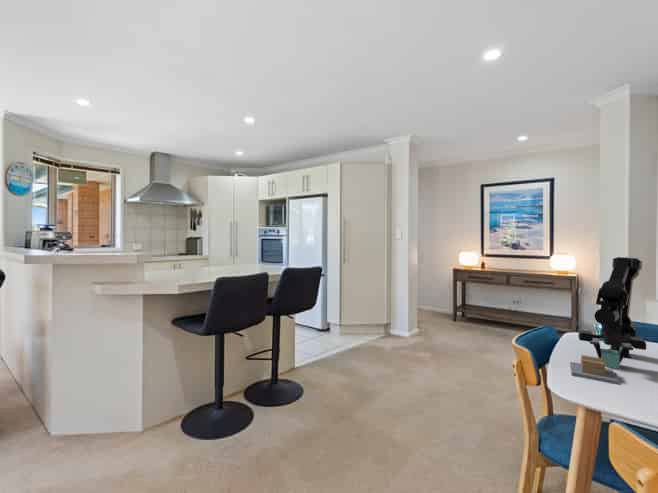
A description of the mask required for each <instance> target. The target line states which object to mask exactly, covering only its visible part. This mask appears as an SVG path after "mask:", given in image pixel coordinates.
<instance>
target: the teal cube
mask: <svg viewBox="0 0 658 493" xmlns="http://www.w3.org/2000/svg"><path fill="white" fill-rule="evenodd" d="M608 349H609V348H607V349H606V348H602V347H600V352H601V358H603V360H604V363H605V368H610V369H618V370H620V364H619V362H620V355H619V353H618V351H615V350H608Z"/></svg>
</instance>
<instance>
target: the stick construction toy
mask: <svg viewBox="0 0 658 493" xmlns="http://www.w3.org/2000/svg"><path fill="white" fill-rule="evenodd" d="M594 329H595V330H596V333H595V334H596V335H601V324H600V325H598V326H597V324H596V325H594ZM602 343H604V341H603V342H602Z"/></svg>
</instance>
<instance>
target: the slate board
mask: <svg viewBox="0 0 658 493" xmlns="http://www.w3.org/2000/svg"><path fill="white" fill-rule="evenodd" d="M569 364H570V365H569V366H570V370H571V372H570V373H571V376H575V377H580V378H584V379H590V380H594V381H599V382H606V383H610V384H616V385H618V379H617V377H616V375H615V372H614V370H613V368H609V367H605V376H602V375H596V374H591V373H586V372H582V369H581V362H575V361H574V362H573V361H570V362H569Z"/></svg>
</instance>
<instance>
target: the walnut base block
mask: <svg viewBox="0 0 658 493" xmlns="http://www.w3.org/2000/svg"><path fill="white" fill-rule="evenodd" d="M580 356H581V357H580V358H581V359H580V364H581V369H582V372H586V373H591V374H596V375H602V376H605V368H606V366H605V363H604V360H603V358H598V356H596V357H595V356H590V355H585V354H581V355H580Z"/></svg>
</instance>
